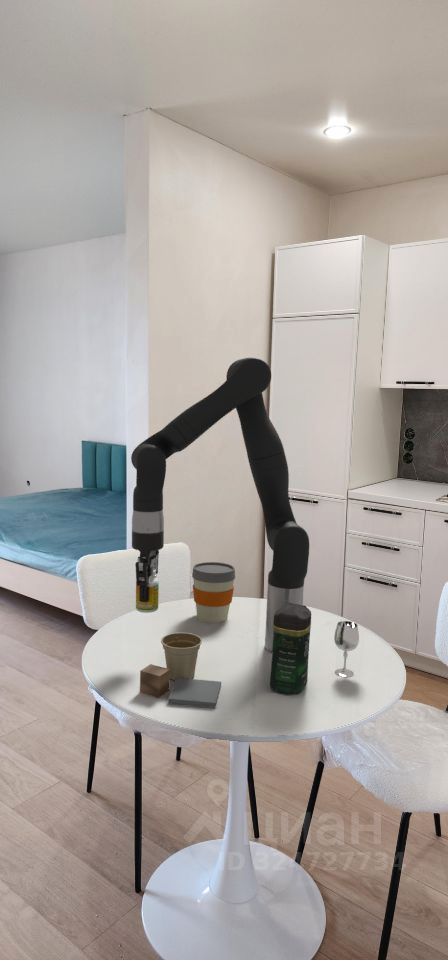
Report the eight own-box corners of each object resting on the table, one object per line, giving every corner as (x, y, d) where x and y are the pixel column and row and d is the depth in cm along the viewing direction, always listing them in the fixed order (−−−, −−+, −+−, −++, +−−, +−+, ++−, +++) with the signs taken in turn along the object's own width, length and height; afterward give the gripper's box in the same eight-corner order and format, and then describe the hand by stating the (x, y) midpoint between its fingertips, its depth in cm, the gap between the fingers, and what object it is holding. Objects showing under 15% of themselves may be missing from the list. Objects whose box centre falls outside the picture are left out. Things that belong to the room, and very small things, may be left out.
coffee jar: (300, 699, 137) (305, 616, 134) (265, 692, 139) (269, 611, 137) (311, 681, 146) (315, 603, 143) (277, 675, 148) (281, 598, 146)
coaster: (221, 686, 141) (221, 681, 141) (215, 708, 131) (215, 702, 131) (177, 682, 142) (177, 677, 142) (168, 703, 133) (168, 698, 132)
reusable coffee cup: (240, 614, 189) (242, 565, 187) (222, 628, 177) (225, 575, 175) (202, 607, 194) (204, 559, 192) (183, 620, 182) (184, 569, 180)
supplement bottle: (156, 613, 150) (157, 573, 149) (134, 612, 150) (134, 573, 149) (159, 606, 155) (160, 567, 154) (137, 605, 155) (137, 566, 154)
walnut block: (169, 690, 139) (169, 669, 138) (159, 698, 135) (159, 676, 134) (150, 685, 141) (150, 664, 140) (139, 692, 137) (140, 670, 137)
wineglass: (358, 670, 153) (361, 622, 151) (354, 679, 147) (358, 630, 146) (334, 666, 155) (337, 618, 153) (330, 675, 149) (333, 626, 148)
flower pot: (169, 688, 140) (170, 650, 139) (153, 671, 148) (154, 635, 147) (207, 680, 144) (209, 644, 143) (190, 664, 152) (191, 630, 151)
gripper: (156, 535, 143) (156, 608, 145) (169, 523, 157) (168, 589, 159) (124, 534, 143) (124, 606, 146) (139, 521, 158) (139, 587, 160)
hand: (147, 597), depth 152 cm, fingers closed on supplement bottle, 5 cm apart
